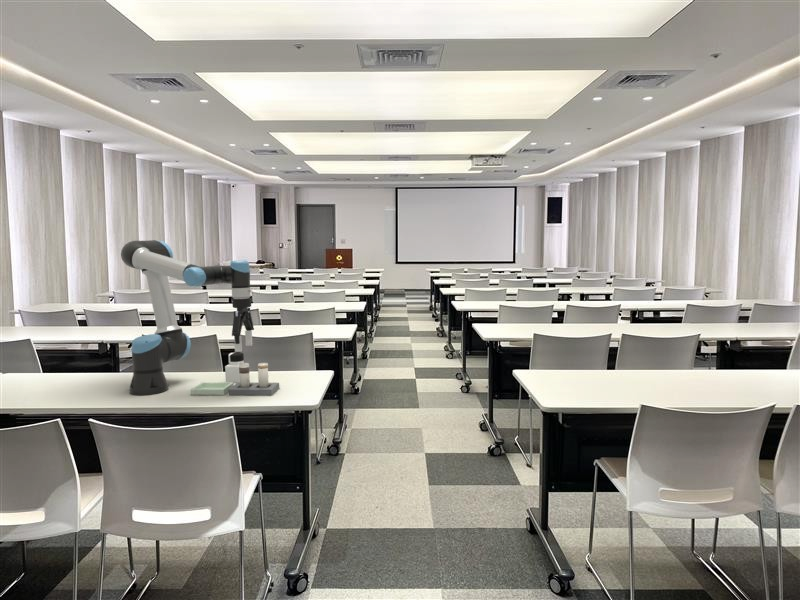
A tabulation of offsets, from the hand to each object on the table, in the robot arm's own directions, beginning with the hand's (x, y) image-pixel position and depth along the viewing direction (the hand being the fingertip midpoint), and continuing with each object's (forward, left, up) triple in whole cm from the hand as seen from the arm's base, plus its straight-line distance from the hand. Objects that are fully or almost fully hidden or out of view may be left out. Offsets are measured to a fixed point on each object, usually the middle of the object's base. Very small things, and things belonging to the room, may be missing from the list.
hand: (243, 348), depth 243 cm
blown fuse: (0, 0, -19) cm, 19 cm away
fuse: (+8, 0, -19) cm, 20 cm away
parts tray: (-14, 0, -19) cm, 23 cm away
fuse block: (+4, 0, -19) cm, 19 cm away
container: (-10, +19, -19) cm, 29 cm away
